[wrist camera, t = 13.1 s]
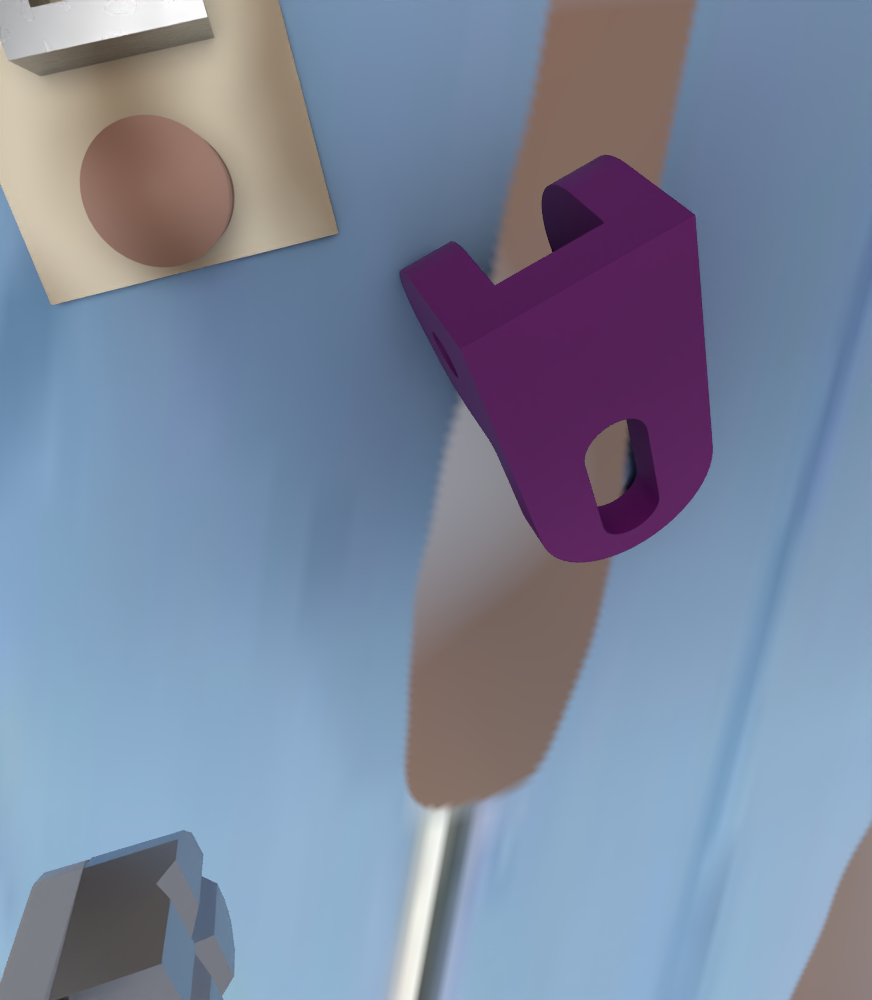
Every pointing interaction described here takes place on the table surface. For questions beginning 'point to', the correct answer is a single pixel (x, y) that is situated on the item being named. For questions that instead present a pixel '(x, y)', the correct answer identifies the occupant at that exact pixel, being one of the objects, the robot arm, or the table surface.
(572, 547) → the mounting bracket
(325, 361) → the table surface
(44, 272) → the post board
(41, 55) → the collar
